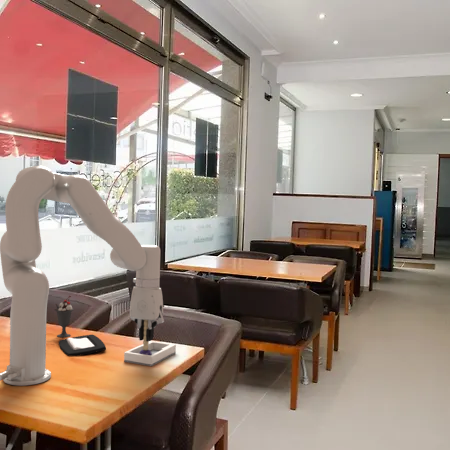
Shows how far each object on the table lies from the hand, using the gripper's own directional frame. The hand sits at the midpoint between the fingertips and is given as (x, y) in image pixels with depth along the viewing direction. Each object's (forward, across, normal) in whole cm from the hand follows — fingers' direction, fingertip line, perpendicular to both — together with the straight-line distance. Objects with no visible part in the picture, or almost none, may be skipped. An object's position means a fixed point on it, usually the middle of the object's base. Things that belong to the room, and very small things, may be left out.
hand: (146, 339), depth 168 cm
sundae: (+7, -42, +11) cm, 44 cm away
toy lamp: (+5, 0, 0) cm, 5 cm away
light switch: (+7, -27, +2) cm, 28 cm away
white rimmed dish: (+7, 0, +3) cm, 7 cm away
